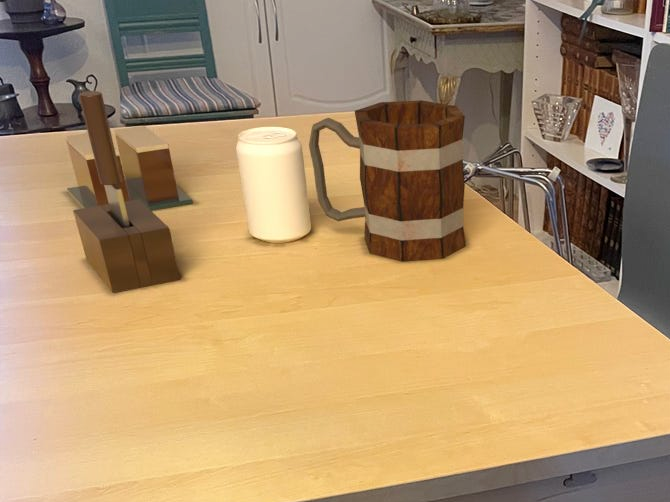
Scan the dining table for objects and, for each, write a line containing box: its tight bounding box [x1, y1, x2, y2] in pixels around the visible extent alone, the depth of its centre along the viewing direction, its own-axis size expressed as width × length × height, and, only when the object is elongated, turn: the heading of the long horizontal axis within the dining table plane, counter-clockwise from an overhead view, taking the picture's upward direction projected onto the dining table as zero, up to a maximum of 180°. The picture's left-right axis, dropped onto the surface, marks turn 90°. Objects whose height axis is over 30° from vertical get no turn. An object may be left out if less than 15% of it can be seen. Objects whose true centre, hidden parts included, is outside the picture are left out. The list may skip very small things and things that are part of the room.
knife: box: [78, 90, 130, 229], centre depth 108 cm, size 6×2×19 cm, turn 31°
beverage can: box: [235, 126, 312, 244], centre depth 120 cm, size 8×8×12 cm
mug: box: [308, 99, 466, 262], centre depth 117 cm, size 20×14×15 cm
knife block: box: [73, 199, 181, 294], centre depth 112 cm, size 12×8×6 cm, turn 32°
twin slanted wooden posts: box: [65, 125, 193, 211], centre depth 132 cm, size 14×14×8 cm
